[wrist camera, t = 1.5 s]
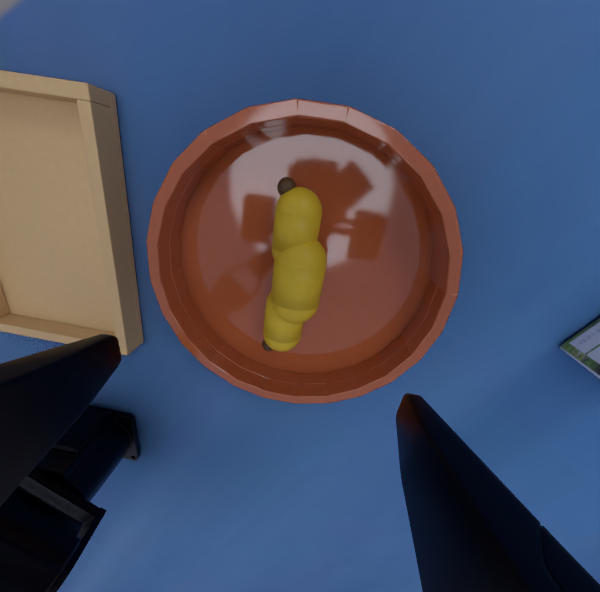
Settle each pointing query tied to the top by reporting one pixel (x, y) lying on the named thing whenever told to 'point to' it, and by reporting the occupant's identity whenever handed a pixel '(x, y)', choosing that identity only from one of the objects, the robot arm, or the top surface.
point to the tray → (64, 214)
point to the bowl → (332, 236)
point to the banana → (294, 266)
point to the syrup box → (586, 347)
